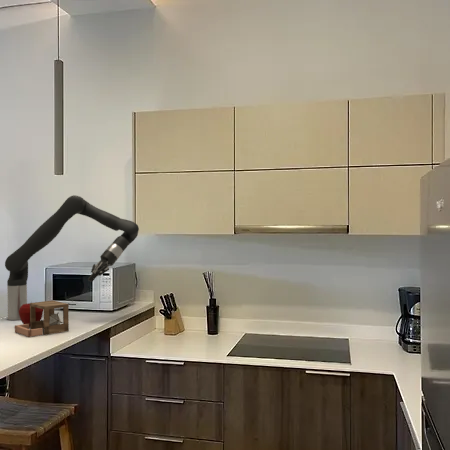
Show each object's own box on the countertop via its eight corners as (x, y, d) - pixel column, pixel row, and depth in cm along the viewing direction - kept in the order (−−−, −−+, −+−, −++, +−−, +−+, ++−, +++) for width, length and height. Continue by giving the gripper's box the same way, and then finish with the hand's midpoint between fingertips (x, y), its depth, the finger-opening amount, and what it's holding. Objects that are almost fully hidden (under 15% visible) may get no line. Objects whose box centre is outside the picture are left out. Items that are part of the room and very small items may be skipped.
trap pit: (14, 332, 227) (14, 325, 227) (28, 330, 231) (28, 323, 231) (28, 337, 216) (28, 330, 216) (42, 335, 221) (42, 328, 221)
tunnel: (30, 329, 232) (29, 303, 232) (53, 326, 240) (52, 300, 240) (45, 335, 221) (45, 306, 221) (68, 331, 228) (68, 304, 228)
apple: (43, 323, 248) (43, 299, 248) (44, 327, 238) (43, 302, 238) (18, 325, 244) (18, 300, 244) (18, 329, 234) (18, 303, 234)
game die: (47, 338, 231) (38, 319, 234) (65, 329, 235) (56, 311, 238) (46, 332, 224) (37, 313, 227) (65, 323, 227) (55, 304, 231)
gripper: (100, 248, 259) (78, 274, 250) (114, 249, 249) (91, 276, 241) (109, 258, 262) (88, 284, 254) (123, 260, 253) (101, 286, 244)
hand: (89, 280), depth 247 cm, fingers closed
